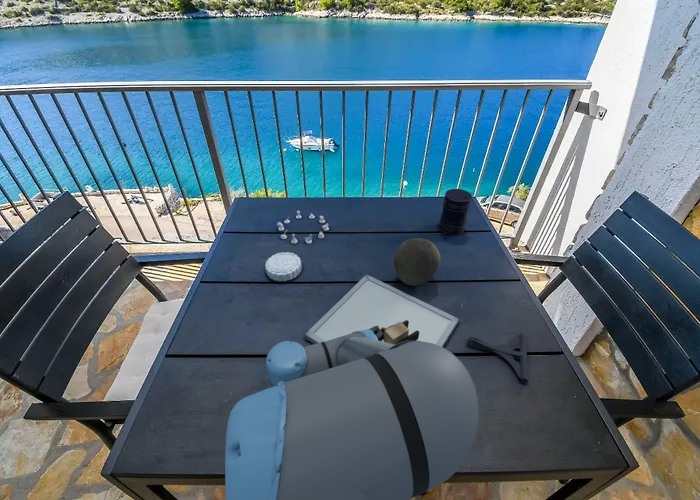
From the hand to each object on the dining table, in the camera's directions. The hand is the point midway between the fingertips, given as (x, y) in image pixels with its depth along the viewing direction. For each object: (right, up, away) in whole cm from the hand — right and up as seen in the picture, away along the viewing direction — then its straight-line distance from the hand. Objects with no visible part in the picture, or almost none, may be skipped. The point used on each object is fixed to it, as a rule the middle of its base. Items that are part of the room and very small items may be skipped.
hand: (412, 329), depth 87 cm
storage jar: (+25, +28, +51) cm, 63 cm away
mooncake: (-38, +13, +31) cm, 51 cm away
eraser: (-5, -7, +2) cm, 9 cm away
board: (-6, -3, +11) cm, 13 cm away
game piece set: (-34, +28, +50) cm, 67 cm away
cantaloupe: (+5, +10, +28) cm, 30 cm away
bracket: (+23, -7, +6) cm, 25 cm away
